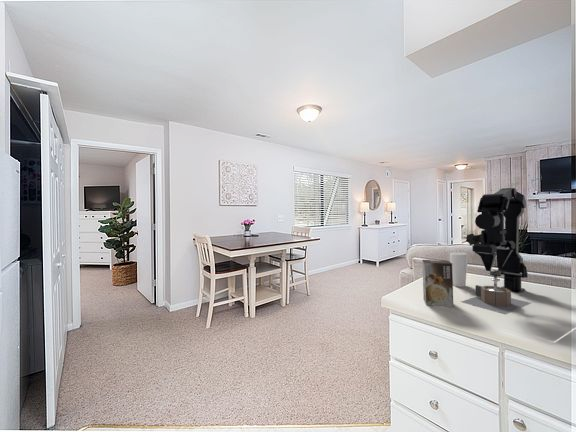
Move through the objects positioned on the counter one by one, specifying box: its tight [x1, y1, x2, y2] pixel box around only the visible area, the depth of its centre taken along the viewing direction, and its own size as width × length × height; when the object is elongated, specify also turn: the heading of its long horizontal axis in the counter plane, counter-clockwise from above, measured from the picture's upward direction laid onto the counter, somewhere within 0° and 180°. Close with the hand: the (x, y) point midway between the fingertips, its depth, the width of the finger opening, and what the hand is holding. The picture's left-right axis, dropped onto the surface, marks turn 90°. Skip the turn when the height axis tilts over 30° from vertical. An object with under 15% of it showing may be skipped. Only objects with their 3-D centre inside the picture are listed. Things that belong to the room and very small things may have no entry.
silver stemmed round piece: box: [487, 269, 505, 292], centre depth 97 cm, size 5×5×8 cm
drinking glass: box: [449, 251, 468, 288], centre depth 119 cm, size 7×7×15 cm
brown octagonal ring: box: [475, 284, 512, 307], centre depth 98 cm, size 8×11×5 cm
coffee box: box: [422, 259, 454, 308], centre depth 98 cm, size 9×6×16 cm
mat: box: [460, 295, 531, 315], centre depth 97 cm, size 20×14×1 cm
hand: (494, 269), depth 97 cm, fingers open, 9 cm apart
